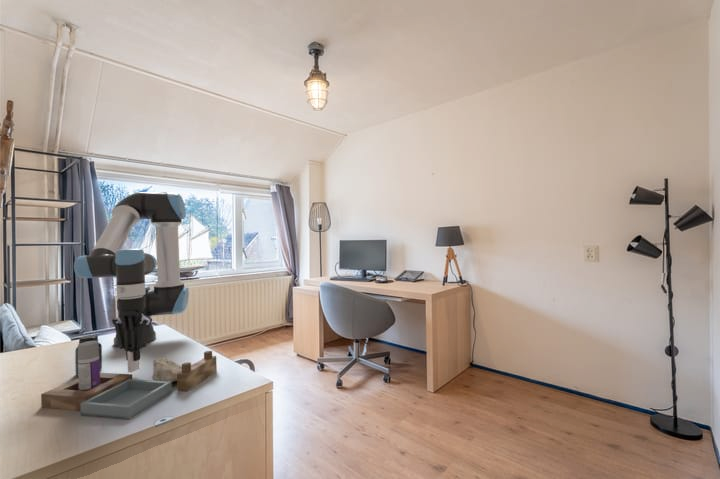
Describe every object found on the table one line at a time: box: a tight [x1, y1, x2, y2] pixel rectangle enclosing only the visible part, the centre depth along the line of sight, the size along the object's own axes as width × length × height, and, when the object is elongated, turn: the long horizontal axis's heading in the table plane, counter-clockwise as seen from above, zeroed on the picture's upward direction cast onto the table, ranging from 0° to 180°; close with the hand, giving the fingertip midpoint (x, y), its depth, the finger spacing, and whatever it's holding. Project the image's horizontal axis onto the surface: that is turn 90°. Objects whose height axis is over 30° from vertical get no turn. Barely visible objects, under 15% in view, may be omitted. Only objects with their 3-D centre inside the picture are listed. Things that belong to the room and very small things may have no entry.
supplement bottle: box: [74, 334, 103, 377], centre depth 108 cm, size 7×7×12 cm
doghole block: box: [40, 372, 133, 411], centre depth 92 cm, size 14×14×4 cm
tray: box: [80, 379, 173, 420], centre depth 87 cm, size 14×14×3 cm
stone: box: [152, 357, 182, 383], centre depth 101 cm, size 8×12×10 cm, turn 47°
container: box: [77, 340, 101, 391], centre depth 92 cm, size 5×5×15 cm
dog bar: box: [176, 350, 218, 392], centre depth 100 cm, size 14×3×7 cm, turn 170°
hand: (133, 370), depth 104 cm, fingers closed
